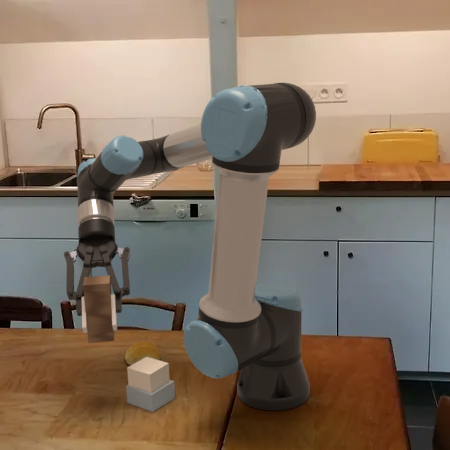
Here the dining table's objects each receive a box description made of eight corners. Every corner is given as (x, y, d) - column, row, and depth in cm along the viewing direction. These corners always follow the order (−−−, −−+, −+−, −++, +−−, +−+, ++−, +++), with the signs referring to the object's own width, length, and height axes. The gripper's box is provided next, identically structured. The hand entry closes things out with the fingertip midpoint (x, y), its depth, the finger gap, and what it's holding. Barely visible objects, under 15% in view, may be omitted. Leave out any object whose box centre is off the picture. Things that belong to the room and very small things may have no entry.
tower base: (175, 398, 146) (174, 381, 145) (152, 413, 141) (151, 395, 140) (149, 390, 150) (148, 372, 149) (127, 403, 145) (126, 386, 144)
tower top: (169, 380, 146) (168, 363, 145) (150, 392, 141) (149, 374, 140) (147, 374, 149) (146, 356, 148) (128, 385, 144) (127, 367, 143)
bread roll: (158, 350, 170) (157, 335, 169) (163, 366, 161) (162, 350, 160) (123, 354, 168) (122, 339, 167) (127, 371, 159) (126, 354, 158)
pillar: (114, 331, 144) (109, 275, 141) (114, 340, 139) (109, 283, 136) (89, 333, 143) (84, 277, 140) (88, 343, 138) (83, 285, 135)
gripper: (140, 232, 152) (147, 332, 141) (55, 238, 150) (55, 340, 139) (138, 213, 146) (145, 317, 134) (50, 219, 144) (49, 325, 132)
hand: (99, 328), depth 136 cm, fingers closed on pillar, 5 cm apart
